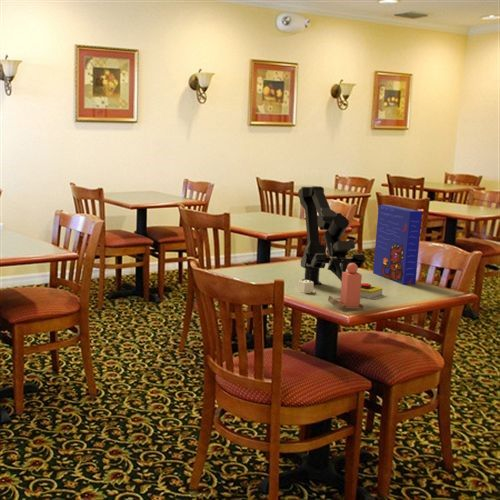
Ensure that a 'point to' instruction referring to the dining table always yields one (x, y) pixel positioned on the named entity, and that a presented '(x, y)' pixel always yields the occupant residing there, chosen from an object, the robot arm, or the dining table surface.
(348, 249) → the robot arm
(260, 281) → the dining table surface
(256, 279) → the dining table surface
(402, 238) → the cereal box
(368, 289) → the emergency button
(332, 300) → the track
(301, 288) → the die
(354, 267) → the pawn
